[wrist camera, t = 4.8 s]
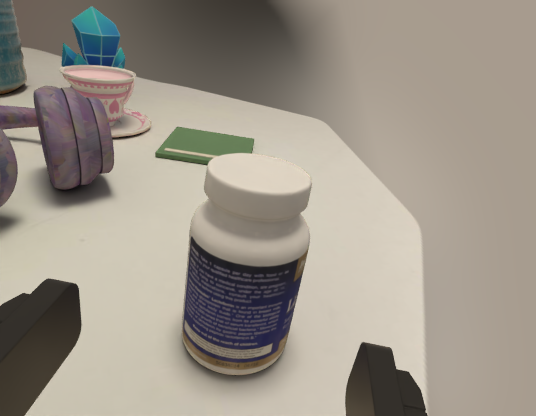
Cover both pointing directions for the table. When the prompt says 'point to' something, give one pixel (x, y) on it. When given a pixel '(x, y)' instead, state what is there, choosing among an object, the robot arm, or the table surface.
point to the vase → (10, 50)
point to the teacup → (109, 95)
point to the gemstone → (94, 41)
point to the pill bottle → (245, 262)
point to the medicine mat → (202, 145)
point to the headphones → (60, 138)
